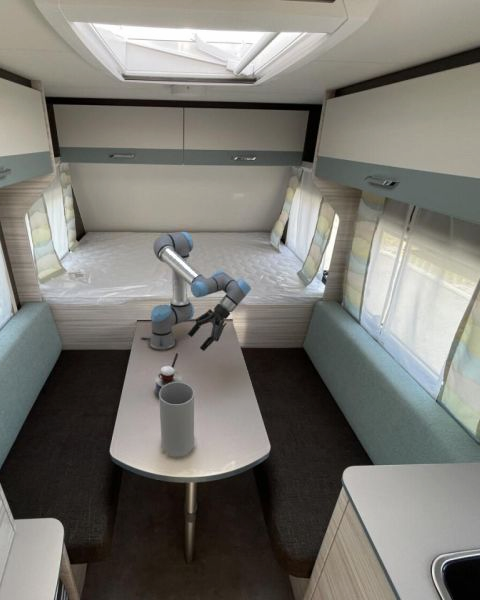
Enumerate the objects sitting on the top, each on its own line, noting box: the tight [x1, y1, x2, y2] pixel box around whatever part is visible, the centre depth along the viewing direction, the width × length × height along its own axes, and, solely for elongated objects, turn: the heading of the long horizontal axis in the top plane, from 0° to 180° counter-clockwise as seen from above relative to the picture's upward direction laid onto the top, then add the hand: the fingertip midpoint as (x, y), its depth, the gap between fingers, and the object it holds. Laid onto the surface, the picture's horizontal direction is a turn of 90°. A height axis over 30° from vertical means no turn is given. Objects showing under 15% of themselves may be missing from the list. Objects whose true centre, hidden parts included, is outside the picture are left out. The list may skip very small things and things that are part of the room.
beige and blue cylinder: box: [154, 370, 183, 398], centre depth 153 cm, size 12×12×8 cm
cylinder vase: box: [158, 381, 195, 458], centre depth 122 cm, size 12×12×25 cm
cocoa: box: [158, 352, 179, 381], centre depth 149 cm, size 10×6×12 cm, turn 97°
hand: (195, 342), depth 153 cm, fingers open, 13 cm apart
